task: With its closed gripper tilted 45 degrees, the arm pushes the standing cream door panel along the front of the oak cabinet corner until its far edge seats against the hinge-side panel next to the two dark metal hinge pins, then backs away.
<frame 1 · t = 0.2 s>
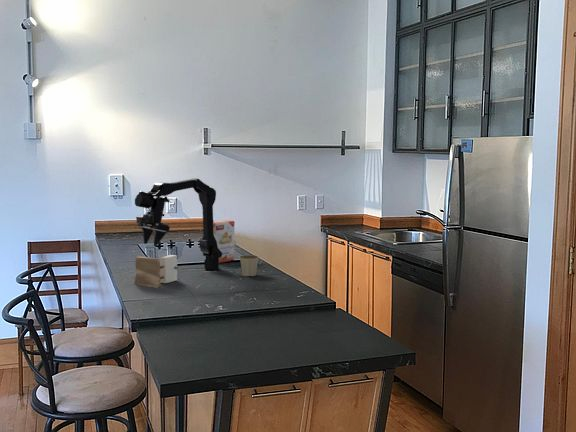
hand: (150, 244, 287), 15 cm above the counter, tool pointing down, fingers open, 9 cm apart
door panel: (169, 269, 281), point 6 cm above the counter, slide at 0.0 cm
cracker box: (221, 262, 332), on the counter
cabinet corner: (153, 286, 272), on the counter
flower pot: (249, 275, 298), on the counter
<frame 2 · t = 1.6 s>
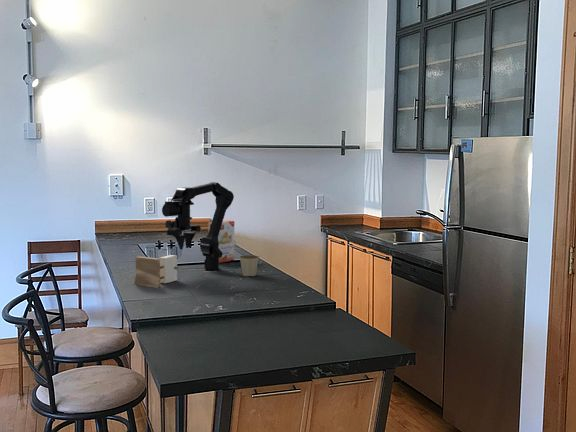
hand: (184, 248, 297), 12 cm above the counter, tool pointing down, fingers open, 4 cm apart
nothing on the counter moved.
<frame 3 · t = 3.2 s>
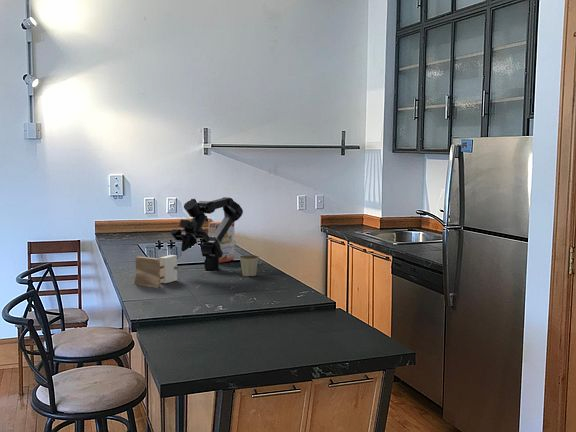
hand: (182, 250, 289), 12 cm above the counter, tool tilted 45°, fingers closed
nothing on the counter moved.
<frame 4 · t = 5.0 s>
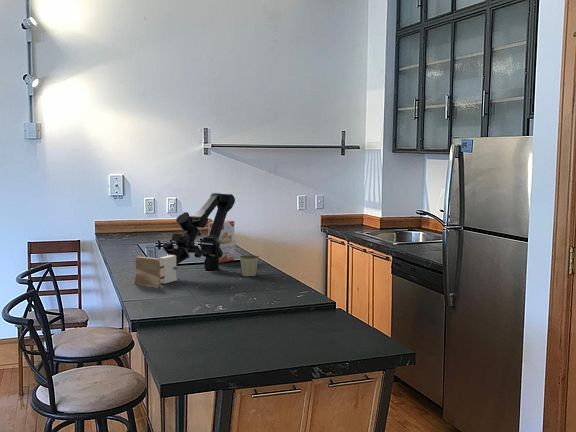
hand: (174, 265, 284), 7 cm above the counter, tool tilted 45°, fingers closed, pressing on door panel
door panel: (169, 269, 280), point 6 cm above the counter, slide at 0.5 cm, touching gripper
everything else where it was.
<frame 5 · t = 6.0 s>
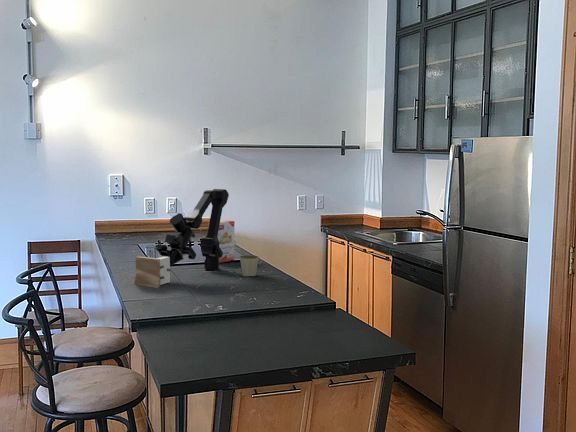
hand: (167, 267, 280), 7 cm above the counter, tool tilted 45°, fingers closed, pressing on door panel
door panel: (162, 271, 276), point 6 cm above the counter, slide at 5.1 cm, touching gripper
everything else where it was.
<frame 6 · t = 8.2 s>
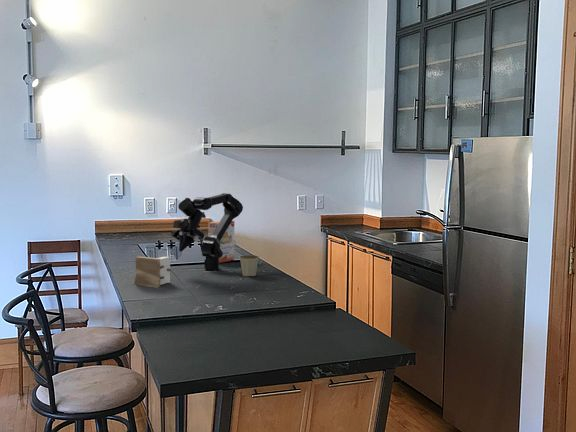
hand: (180, 251, 291), 12 cm above the counter, tool tilted 35°, fingers closed
door panel: (162, 270, 276), point 6 cm above the counter, slide at 5.0 cm
everything else where it was.
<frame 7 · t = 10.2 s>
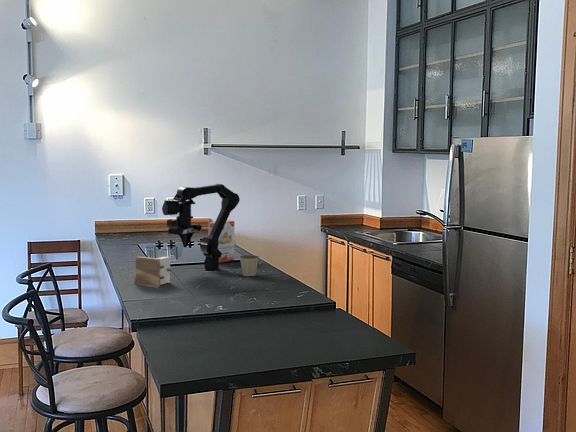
hand: (185, 247, 301), 12 cm above the counter, tool pointing down, fingers closed
nothing on the counter moved.
at the end: door panel slide at 5.0 cm; the gripper is holding nothing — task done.
